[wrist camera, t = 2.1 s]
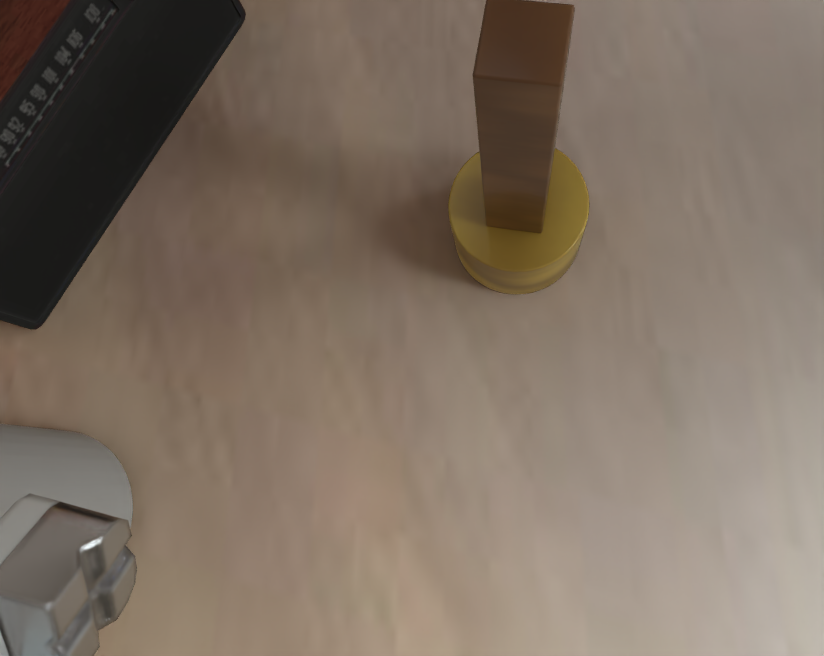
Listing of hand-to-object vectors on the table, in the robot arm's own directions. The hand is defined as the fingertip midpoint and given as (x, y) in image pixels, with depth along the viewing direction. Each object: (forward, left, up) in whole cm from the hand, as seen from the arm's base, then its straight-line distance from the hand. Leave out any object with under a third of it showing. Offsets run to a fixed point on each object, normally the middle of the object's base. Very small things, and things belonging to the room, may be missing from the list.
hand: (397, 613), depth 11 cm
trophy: (0, -12, -18) cm, 22 cm away
